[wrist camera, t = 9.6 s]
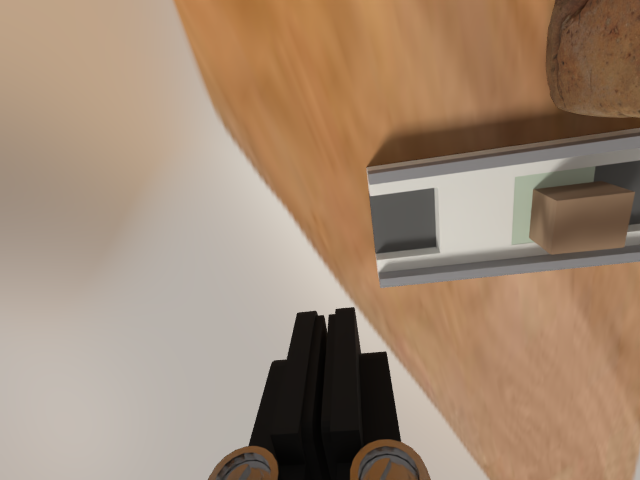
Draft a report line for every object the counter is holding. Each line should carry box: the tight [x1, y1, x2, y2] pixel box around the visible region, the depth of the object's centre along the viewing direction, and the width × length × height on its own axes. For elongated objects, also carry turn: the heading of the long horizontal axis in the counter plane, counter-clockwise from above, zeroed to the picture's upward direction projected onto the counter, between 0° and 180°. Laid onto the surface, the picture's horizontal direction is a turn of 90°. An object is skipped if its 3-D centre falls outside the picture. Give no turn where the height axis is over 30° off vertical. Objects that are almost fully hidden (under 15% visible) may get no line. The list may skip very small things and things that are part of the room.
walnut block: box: [529, 181, 635, 255], centre depth 31 cm, size 5×6×4 cm
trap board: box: [366, 128, 640, 288], centre depth 34 cm, size 12×27×4 cm, turn 99°
